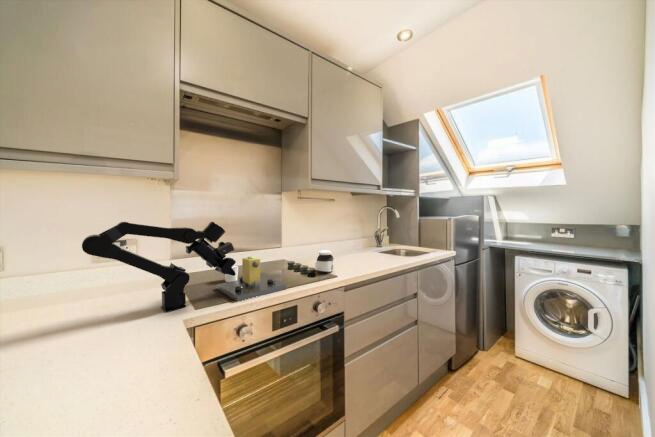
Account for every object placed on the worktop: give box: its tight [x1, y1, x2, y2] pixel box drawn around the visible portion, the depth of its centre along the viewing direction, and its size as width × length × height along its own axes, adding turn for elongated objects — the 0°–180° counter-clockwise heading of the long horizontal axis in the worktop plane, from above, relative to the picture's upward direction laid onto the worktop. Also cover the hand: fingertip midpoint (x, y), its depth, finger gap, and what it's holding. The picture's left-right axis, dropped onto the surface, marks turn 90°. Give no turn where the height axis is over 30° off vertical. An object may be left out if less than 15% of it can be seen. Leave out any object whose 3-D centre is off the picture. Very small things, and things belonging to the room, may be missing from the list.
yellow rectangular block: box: [241, 255, 261, 284], centre depth 111 cm, size 5×9×12 cm, turn 42°
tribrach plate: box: [216, 274, 287, 303], centre depth 112 cm, size 22×22×5 cm
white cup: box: [224, 264, 239, 283], centre depth 126 cm, size 7×7×7 cm
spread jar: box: [314, 249, 335, 275], centre depth 141 cm, size 12×11×12 cm
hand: (234, 274), depth 106 cm, fingers closed
